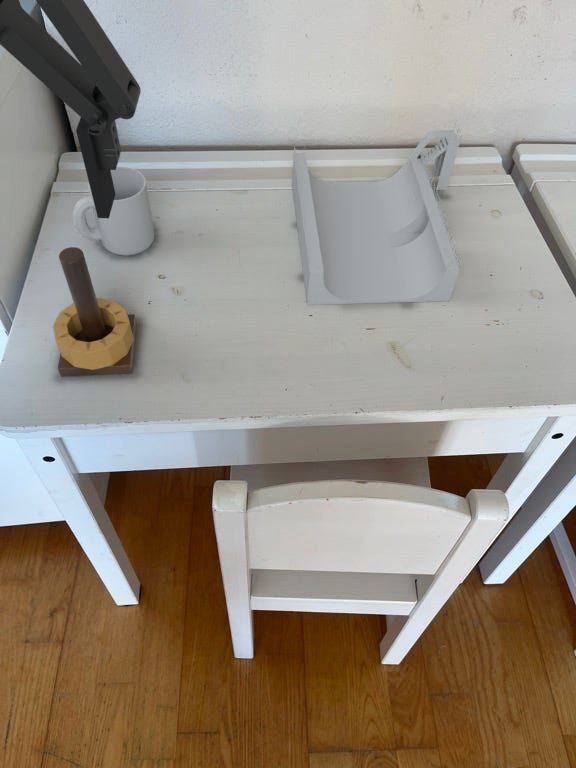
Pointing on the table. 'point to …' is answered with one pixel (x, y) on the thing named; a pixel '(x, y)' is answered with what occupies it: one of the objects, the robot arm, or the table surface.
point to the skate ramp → (378, 232)
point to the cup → (120, 215)
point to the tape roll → (96, 351)
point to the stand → (89, 315)
